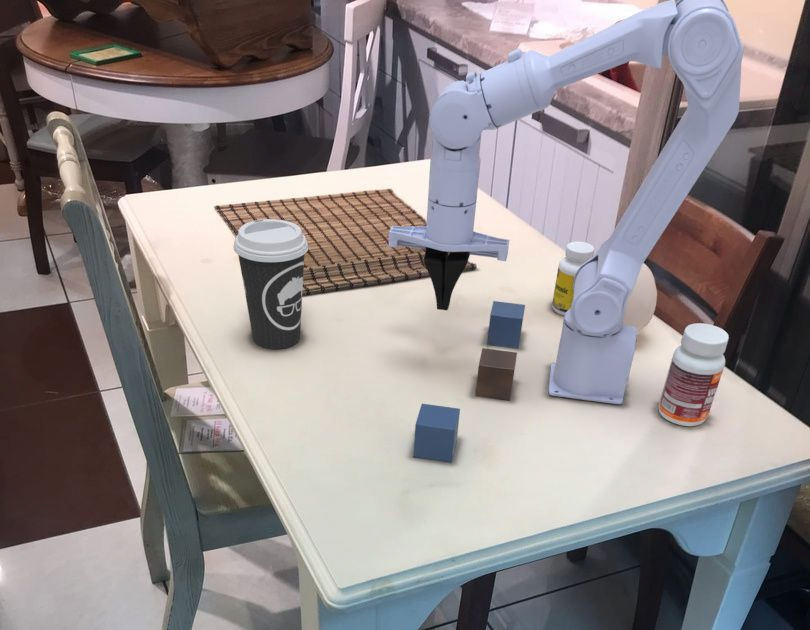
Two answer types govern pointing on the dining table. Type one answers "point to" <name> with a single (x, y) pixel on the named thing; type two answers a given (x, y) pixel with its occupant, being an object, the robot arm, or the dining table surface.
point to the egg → (641, 300)
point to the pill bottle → (694, 375)
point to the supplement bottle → (569, 274)
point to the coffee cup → (272, 279)
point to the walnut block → (495, 374)
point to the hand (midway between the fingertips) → (443, 306)
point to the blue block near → (436, 432)
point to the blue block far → (505, 324)
